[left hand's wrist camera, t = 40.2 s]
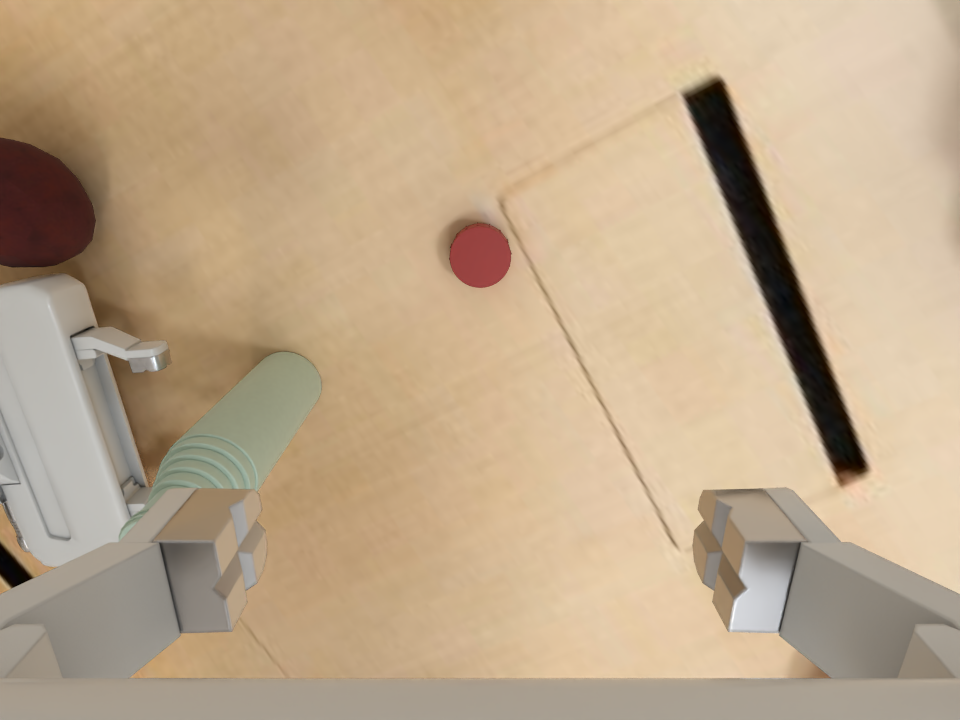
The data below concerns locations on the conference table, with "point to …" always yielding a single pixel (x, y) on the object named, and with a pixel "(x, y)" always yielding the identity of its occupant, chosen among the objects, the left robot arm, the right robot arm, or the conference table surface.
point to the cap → (480, 255)
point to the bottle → (241, 431)
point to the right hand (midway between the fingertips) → (184, 423)
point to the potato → (40, 208)
